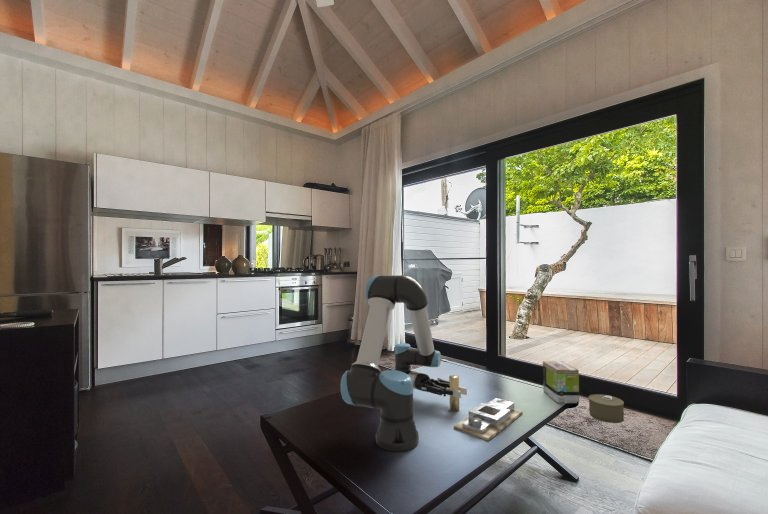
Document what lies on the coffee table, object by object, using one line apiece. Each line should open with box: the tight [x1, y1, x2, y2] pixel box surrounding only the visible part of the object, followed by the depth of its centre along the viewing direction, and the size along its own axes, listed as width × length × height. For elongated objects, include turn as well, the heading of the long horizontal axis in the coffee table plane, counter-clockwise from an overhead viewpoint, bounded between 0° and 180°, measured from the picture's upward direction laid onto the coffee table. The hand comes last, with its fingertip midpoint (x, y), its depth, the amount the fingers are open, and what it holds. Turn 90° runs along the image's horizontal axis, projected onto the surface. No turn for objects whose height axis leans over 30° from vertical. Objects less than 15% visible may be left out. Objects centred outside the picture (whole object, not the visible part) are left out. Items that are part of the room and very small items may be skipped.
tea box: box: [542, 360, 580, 404], centre depth 161 cm, size 15×10×15 cm, turn 179°
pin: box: [448, 374, 460, 413], centre depth 148 cm, size 4×4×14 cm
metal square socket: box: [462, 397, 515, 434], centre depth 137 cm, size 28×12×3 cm, turn 137°
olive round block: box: [588, 393, 625, 424], centre depth 139 cm, size 12×12×7 cm
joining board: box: [453, 408, 524, 442], centre depth 137 cm, size 30×14×1 cm, turn 137°
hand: (463, 393), depth 145 cm, fingers closed on pin, 4 cm apart
